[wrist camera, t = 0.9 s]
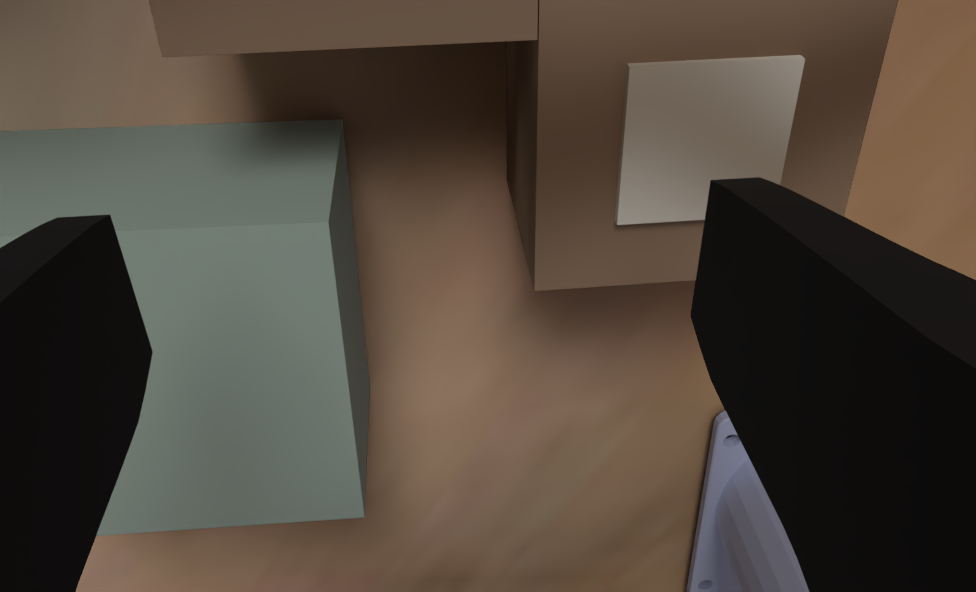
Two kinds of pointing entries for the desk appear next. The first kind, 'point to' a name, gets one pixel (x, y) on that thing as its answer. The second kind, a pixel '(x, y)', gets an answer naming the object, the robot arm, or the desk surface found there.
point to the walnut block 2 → (677, 122)
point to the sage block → (223, 311)
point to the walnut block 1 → (335, 24)
